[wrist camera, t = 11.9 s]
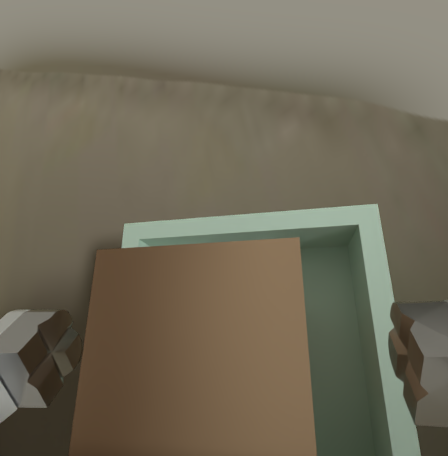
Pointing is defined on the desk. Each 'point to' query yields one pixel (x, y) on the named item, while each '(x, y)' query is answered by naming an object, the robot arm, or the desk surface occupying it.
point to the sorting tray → (328, 317)
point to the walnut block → (196, 353)
